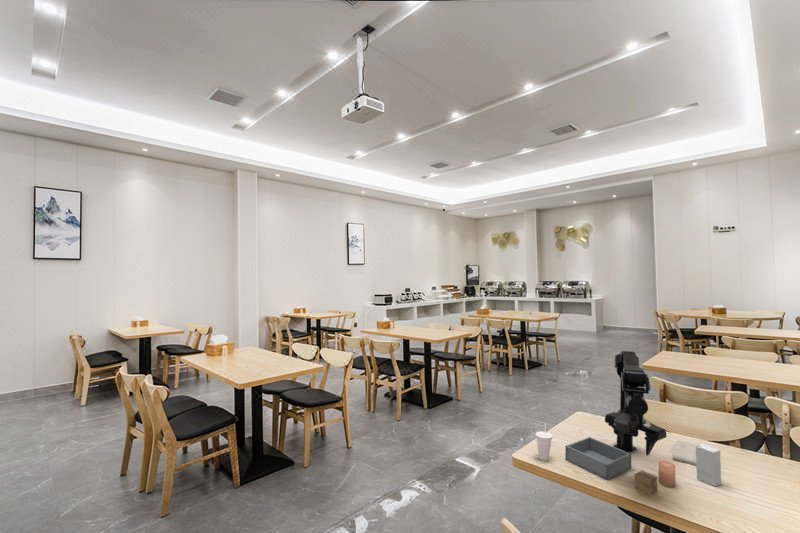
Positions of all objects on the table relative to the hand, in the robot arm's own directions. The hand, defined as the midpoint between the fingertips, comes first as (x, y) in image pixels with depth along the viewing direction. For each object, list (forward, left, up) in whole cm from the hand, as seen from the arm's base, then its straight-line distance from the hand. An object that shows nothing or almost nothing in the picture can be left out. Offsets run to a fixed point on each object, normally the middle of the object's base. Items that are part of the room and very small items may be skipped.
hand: (634, 449), depth 141 cm
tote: (-3, -16, -13) cm, 20 cm away
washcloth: (-41, 0, -13) cm, 43 cm away
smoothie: (+11, -30, -13) cm, 34 cm away
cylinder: (-11, +5, -13) cm, 18 cm away
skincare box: (-25, +12, -13) cm, 31 cm away
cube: (-1, +3, -13) cm, 13 cm away
